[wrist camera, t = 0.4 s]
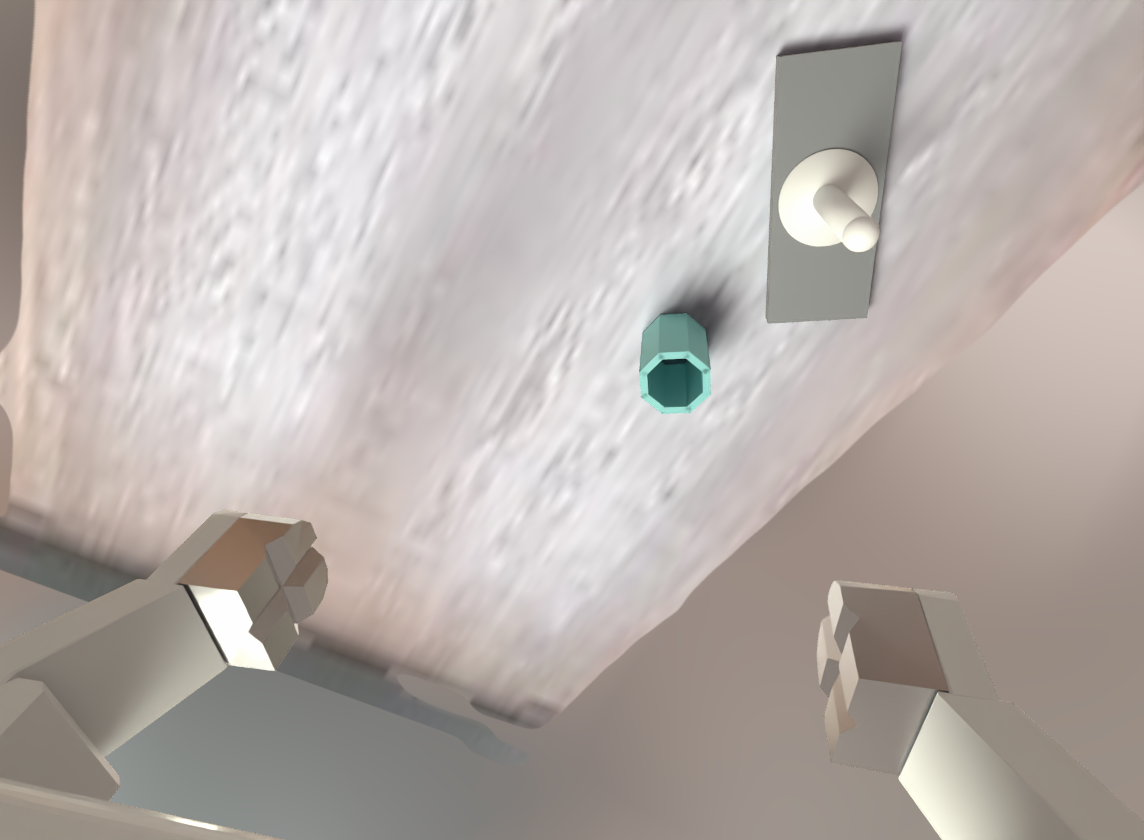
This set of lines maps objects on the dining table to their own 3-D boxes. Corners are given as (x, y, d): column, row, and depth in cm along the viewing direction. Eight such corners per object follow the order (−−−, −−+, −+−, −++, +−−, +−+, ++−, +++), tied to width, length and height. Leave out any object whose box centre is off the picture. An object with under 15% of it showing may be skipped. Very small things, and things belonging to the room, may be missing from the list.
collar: (641, 315, 57) (637, 353, 50) (705, 311, 56) (710, 349, 49) (645, 371, 60) (642, 414, 53) (706, 368, 59) (710, 412, 52)
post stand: (776, 56, 46) (809, 63, 35) (895, 41, 44) (967, 44, 34) (765, 316, 56) (788, 384, 45) (862, 311, 54) (909, 379, 44)
